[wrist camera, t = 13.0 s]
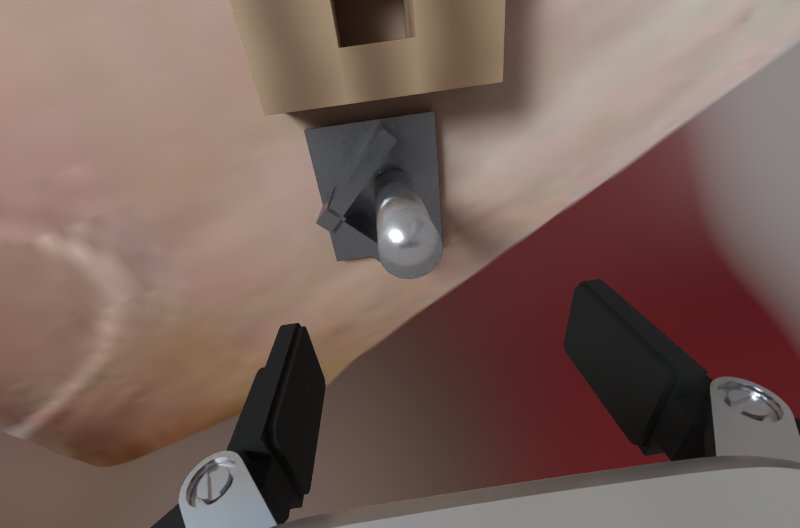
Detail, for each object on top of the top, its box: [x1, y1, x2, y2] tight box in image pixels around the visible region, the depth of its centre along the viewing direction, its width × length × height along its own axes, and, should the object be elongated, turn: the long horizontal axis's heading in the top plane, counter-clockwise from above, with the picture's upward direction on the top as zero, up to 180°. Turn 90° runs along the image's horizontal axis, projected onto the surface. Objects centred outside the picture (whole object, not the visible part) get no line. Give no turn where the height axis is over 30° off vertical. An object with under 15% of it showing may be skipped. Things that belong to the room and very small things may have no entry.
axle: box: [374, 171, 443, 279], centre depth 23 cm, size 4×4×12 cm
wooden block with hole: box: [230, 0, 505, 116], centre depth 21 cm, size 16×11×5 cm
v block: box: [304, 111, 443, 261], centre depth 26 cm, size 12×10×6 cm
